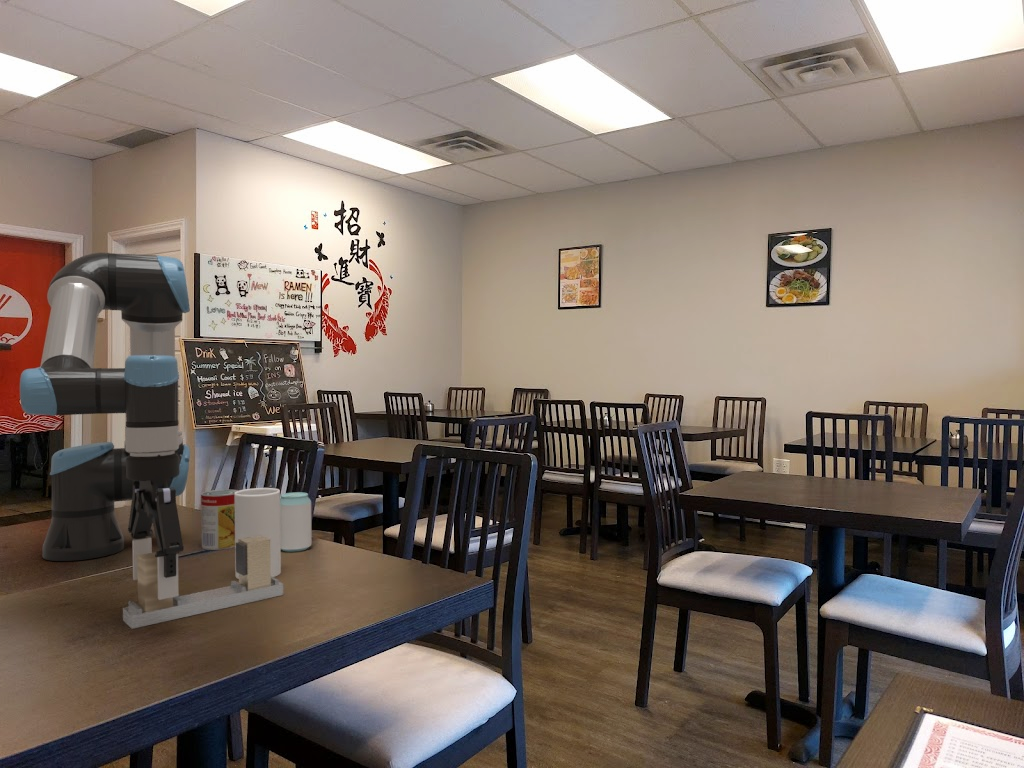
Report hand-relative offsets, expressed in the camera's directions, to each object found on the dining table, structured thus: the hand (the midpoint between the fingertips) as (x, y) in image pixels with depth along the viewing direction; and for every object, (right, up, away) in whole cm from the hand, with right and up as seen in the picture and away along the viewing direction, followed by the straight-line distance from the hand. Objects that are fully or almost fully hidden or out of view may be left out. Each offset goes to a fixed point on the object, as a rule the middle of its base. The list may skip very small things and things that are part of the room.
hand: (154, 587), depth 113 cm
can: (+9, -4, +44) cm, 45 cm away
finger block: (0, -3, 0) cm, 3 cm away
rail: (+6, -5, +5) cm, 9 cm away
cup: (+8, -5, +24) cm, 26 cm away
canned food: (-9, -4, +47) cm, 48 cm away
